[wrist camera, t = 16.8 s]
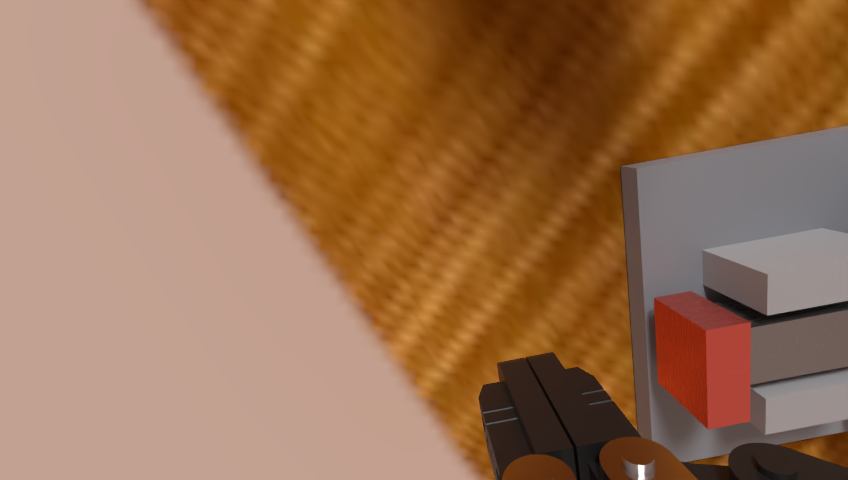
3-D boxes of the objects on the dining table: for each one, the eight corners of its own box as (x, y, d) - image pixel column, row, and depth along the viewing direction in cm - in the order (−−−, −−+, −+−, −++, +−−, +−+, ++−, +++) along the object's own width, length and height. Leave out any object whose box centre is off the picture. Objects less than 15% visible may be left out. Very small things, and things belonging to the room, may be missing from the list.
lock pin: (934, 244, 14) (1046, 267, 12) (925, 330, 15) (1029, 368, 12) (652, 296, 14) (706, 330, 11) (656, 380, 15) (707, 429, 12)
